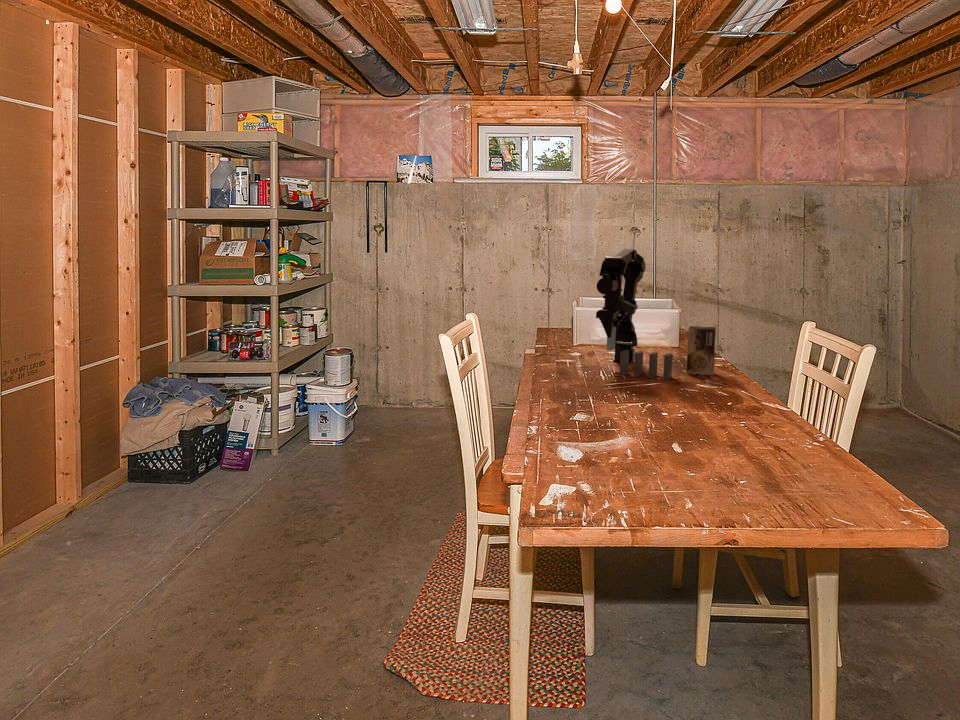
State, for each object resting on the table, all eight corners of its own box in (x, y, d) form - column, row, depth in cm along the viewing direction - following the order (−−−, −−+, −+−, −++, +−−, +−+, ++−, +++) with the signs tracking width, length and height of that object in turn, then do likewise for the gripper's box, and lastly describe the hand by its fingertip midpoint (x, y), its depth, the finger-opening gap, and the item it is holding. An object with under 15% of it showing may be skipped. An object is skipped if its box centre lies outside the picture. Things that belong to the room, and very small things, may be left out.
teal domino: (606, 350, 273) (607, 327, 272) (610, 348, 278) (611, 326, 276) (610, 350, 273) (611, 328, 271) (615, 348, 277) (616, 326, 276)
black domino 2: (619, 374, 265) (620, 351, 264) (623, 372, 270) (624, 349, 268) (624, 375, 265) (625, 352, 263) (628, 372, 269) (629, 350, 268)
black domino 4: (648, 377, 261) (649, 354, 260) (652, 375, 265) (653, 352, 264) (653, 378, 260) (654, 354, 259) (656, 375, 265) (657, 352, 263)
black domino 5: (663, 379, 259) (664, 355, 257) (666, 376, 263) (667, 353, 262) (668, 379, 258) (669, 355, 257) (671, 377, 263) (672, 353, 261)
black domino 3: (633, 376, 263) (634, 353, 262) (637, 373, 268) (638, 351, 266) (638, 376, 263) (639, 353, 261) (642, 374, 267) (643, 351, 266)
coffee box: (713, 372, 271) (716, 326, 268) (713, 376, 265) (716, 329, 262) (687, 370, 274) (689, 325, 271) (685, 374, 268) (688, 327, 265)
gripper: (628, 295, 260) (626, 341, 263) (642, 291, 276) (640, 335, 279) (596, 294, 265) (594, 339, 267) (612, 290, 281) (610, 333, 284)
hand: (611, 336), depth 274 cm, fingers closed on teal domino, 5 cm apart
